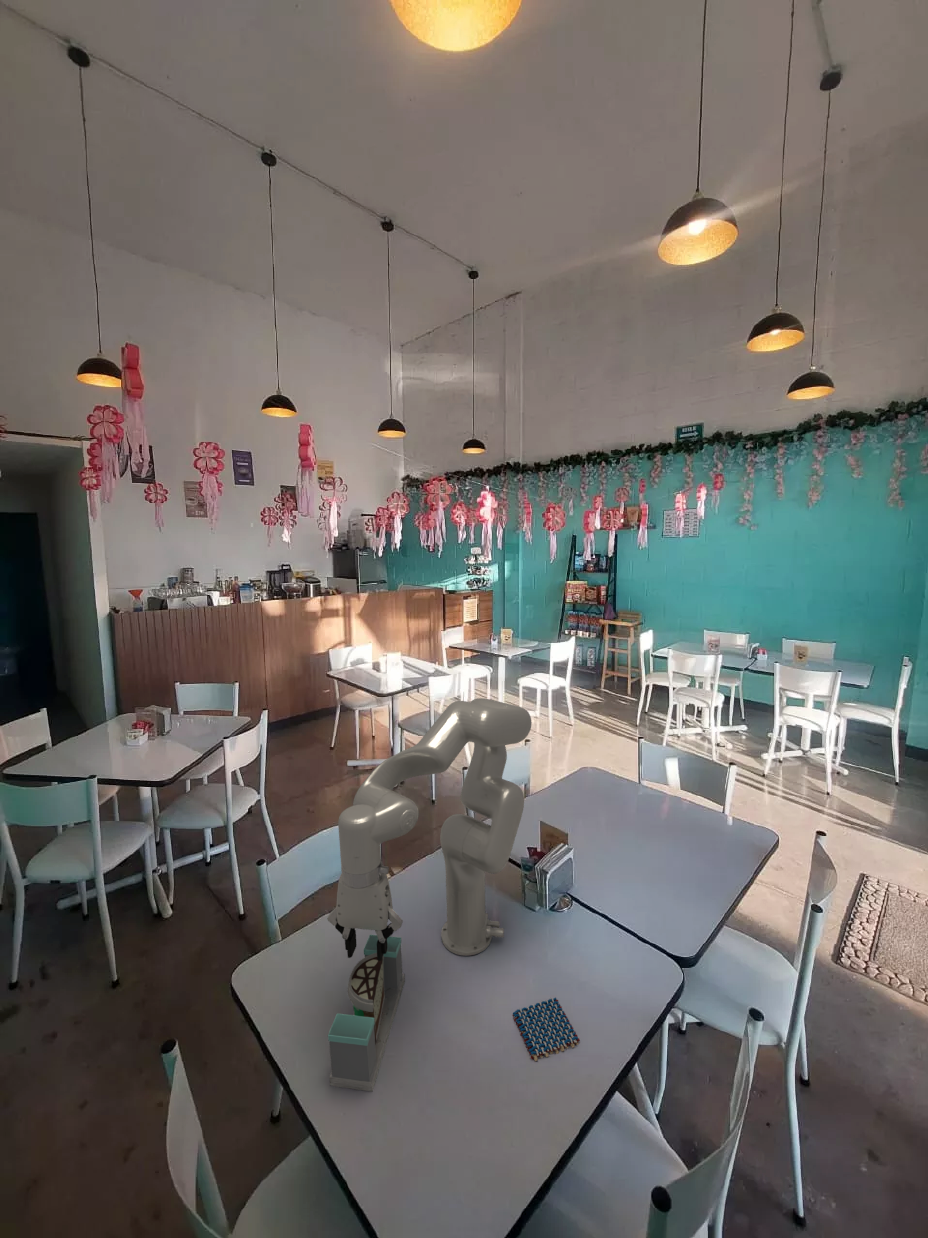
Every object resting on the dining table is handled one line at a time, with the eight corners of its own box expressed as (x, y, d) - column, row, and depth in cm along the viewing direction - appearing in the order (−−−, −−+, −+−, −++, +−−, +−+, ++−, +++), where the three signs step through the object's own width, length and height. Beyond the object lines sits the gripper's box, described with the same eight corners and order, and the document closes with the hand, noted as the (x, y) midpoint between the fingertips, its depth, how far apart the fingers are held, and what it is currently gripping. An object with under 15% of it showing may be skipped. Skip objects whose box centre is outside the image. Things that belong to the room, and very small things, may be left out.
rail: (404, 981, 114) (404, 973, 114) (372, 1091, 91) (371, 1082, 91) (370, 977, 115) (370, 970, 115) (330, 1086, 93) (329, 1076, 92)
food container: (357, 991, 110) (354, 950, 108) (385, 990, 109) (383, 950, 108) (343, 1048, 97) (339, 1003, 96) (375, 1048, 97) (372, 1003, 96)
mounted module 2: (402, 973, 114) (401, 937, 112) (397, 989, 110) (396, 953, 108) (371, 970, 115) (369, 934, 113) (365, 986, 111) (363, 949, 109)
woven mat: (582, 1047, 99) (582, 1039, 99) (532, 1066, 96) (532, 1057, 96) (556, 1001, 109) (556, 993, 108) (510, 1016, 106) (510, 1008, 105)
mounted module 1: (376, 1059, 95) (374, 1018, 94) (369, 1082, 91) (366, 1040, 90) (340, 1054, 96) (337, 1013, 95) (331, 1077, 92) (328, 1035, 91)
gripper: (410, 861, 100) (413, 942, 103) (327, 855, 102) (333, 935, 105) (400, 887, 93) (404, 974, 96) (310, 880, 95) (317, 965, 98)
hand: (366, 953), depth 100 cm, fingers open, 5 cm apart
